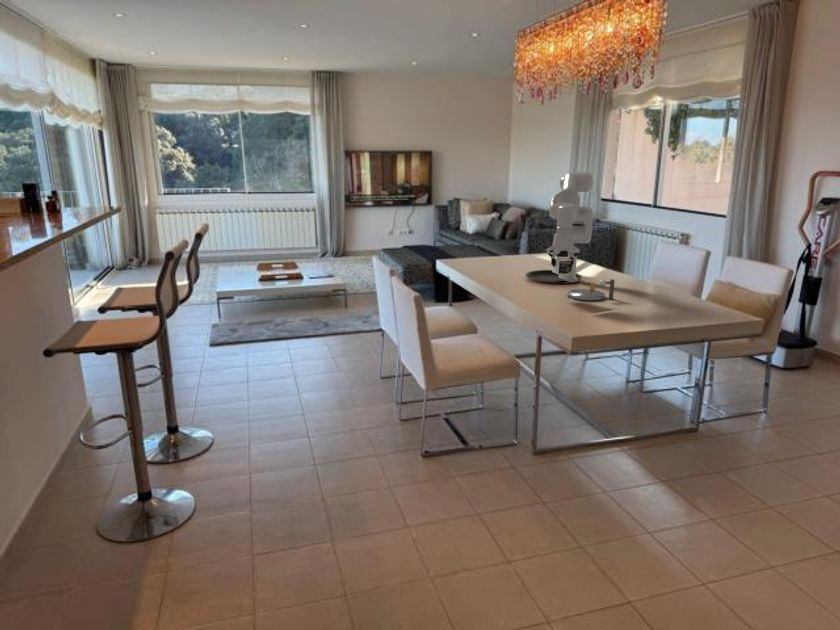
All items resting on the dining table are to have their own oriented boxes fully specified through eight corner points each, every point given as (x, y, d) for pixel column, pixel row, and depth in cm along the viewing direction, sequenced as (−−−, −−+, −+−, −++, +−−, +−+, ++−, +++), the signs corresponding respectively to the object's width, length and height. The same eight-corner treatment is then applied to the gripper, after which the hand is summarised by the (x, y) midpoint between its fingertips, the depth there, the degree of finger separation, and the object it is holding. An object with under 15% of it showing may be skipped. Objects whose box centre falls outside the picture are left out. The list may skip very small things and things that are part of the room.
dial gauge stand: (596, 300, 291) (598, 278, 287) (613, 300, 291) (615, 278, 287) (598, 302, 287) (600, 280, 284) (615, 302, 287) (617, 280, 284)
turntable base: (562, 294, 302) (562, 292, 302) (598, 293, 303) (598, 292, 302) (572, 303, 284) (572, 301, 284) (610, 303, 284) (610, 301, 284)
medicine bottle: (558, 274, 284) (560, 251, 280) (551, 271, 290) (553, 248, 287) (571, 274, 285) (573, 250, 282) (564, 271, 292) (566, 247, 288)
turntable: (594, 303, 281) (595, 291, 279) (561, 297, 292) (562, 285, 291) (610, 296, 294) (611, 284, 292) (578, 290, 305) (579, 279, 304)
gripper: (580, 229, 285) (577, 264, 290) (545, 230, 285) (543, 264, 290) (584, 232, 278) (581, 267, 283) (548, 232, 278) (546, 267, 283)
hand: (562, 265), depth 287 cm, fingers closed on medicine bottle, 8 cm apart
